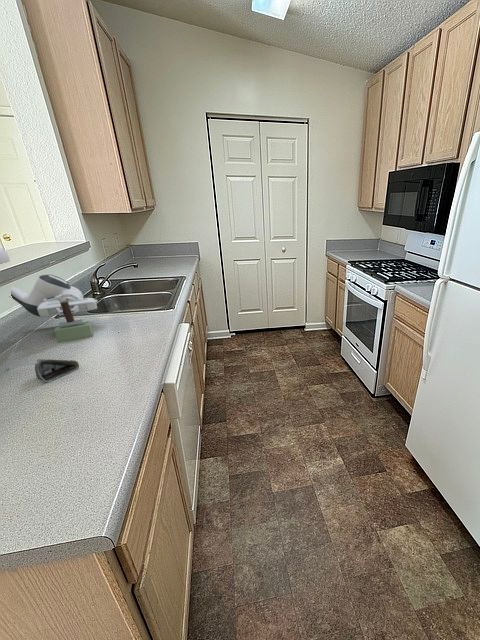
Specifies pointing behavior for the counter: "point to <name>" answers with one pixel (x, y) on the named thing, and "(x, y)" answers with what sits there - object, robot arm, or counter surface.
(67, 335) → the stand
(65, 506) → the counter surface
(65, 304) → the cake cutter
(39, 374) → the dark grey triangular holder
